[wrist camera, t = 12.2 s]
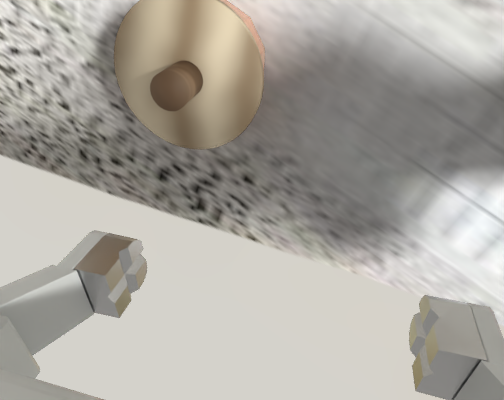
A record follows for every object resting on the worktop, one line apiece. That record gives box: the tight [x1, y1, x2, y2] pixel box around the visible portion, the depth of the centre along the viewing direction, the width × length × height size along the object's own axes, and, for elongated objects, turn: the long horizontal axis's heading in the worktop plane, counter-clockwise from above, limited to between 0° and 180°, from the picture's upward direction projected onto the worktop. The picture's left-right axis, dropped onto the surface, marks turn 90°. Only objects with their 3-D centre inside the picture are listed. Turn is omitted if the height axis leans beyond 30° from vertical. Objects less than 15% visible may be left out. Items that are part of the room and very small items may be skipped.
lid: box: [114, 0, 264, 149], centre depth 30 cm, size 14×14×5 cm
